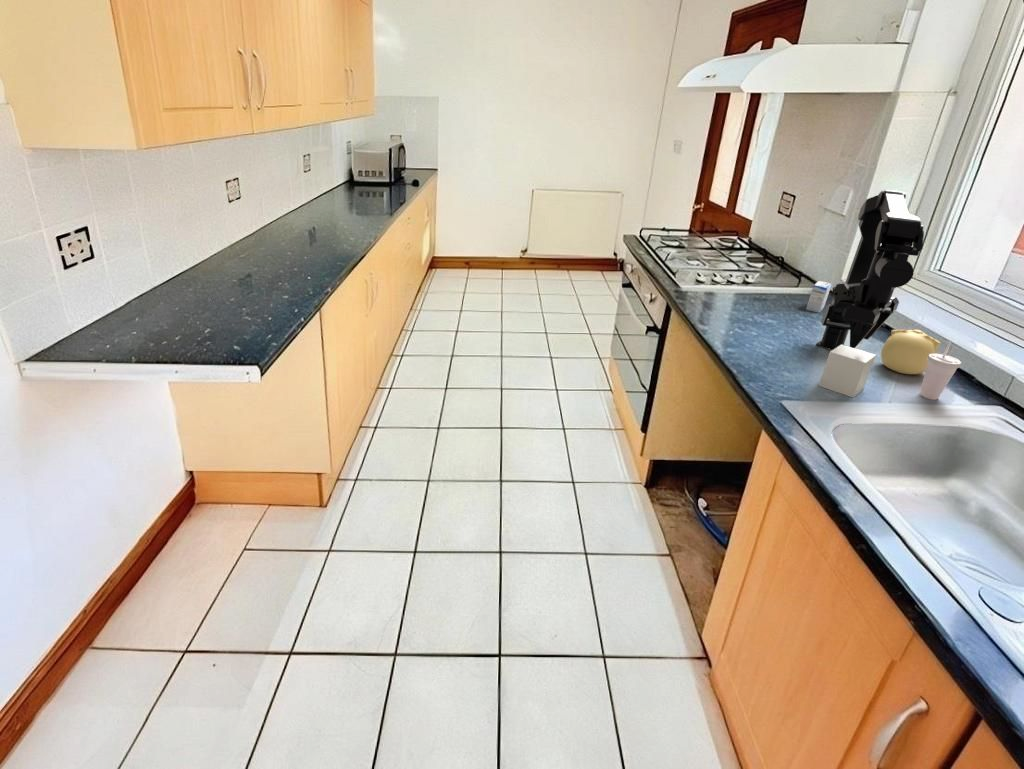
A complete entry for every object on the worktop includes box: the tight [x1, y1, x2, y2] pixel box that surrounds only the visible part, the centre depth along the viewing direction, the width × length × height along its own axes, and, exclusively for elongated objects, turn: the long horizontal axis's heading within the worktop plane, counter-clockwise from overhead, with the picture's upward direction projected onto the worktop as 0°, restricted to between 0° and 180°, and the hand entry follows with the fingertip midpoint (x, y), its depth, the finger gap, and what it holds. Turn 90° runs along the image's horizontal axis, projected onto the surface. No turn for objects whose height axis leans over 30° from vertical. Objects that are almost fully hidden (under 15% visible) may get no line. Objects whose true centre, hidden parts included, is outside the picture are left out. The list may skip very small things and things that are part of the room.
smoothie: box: [919, 339, 962, 400], centre depth 132 cm, size 6×6×14 cm
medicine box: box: [806, 280, 832, 313], centre depth 192 cm, size 8×4×9 cm, turn 144°
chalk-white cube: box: [818, 344, 877, 398], centre depth 135 cm, size 8×8×9 cm
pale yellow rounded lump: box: [880, 329, 942, 375], centre depth 147 cm, size 12×12×11 cm
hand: (859, 343), depth 131 cm, fingers open, 9 cm apart
